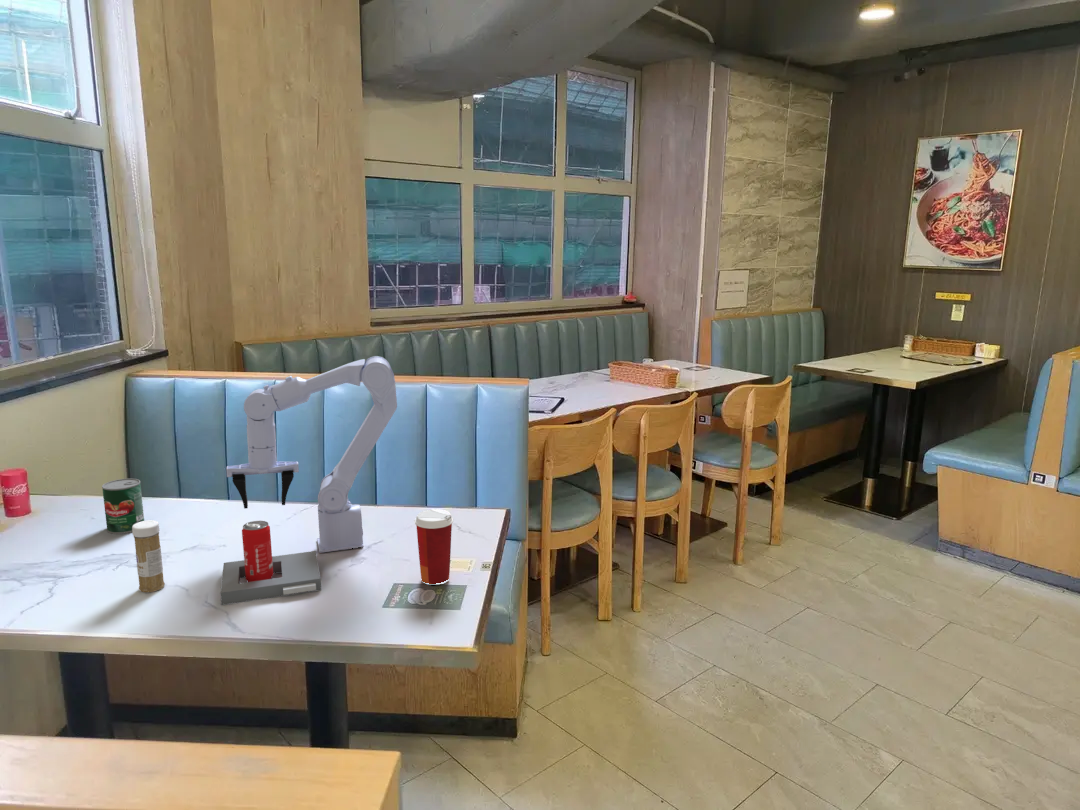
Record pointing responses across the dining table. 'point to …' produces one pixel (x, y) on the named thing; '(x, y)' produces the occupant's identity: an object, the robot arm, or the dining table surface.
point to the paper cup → (434, 544)
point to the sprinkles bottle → (148, 555)
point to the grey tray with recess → (295, 579)
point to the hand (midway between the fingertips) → (264, 505)
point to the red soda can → (257, 551)
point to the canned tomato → (122, 505)
